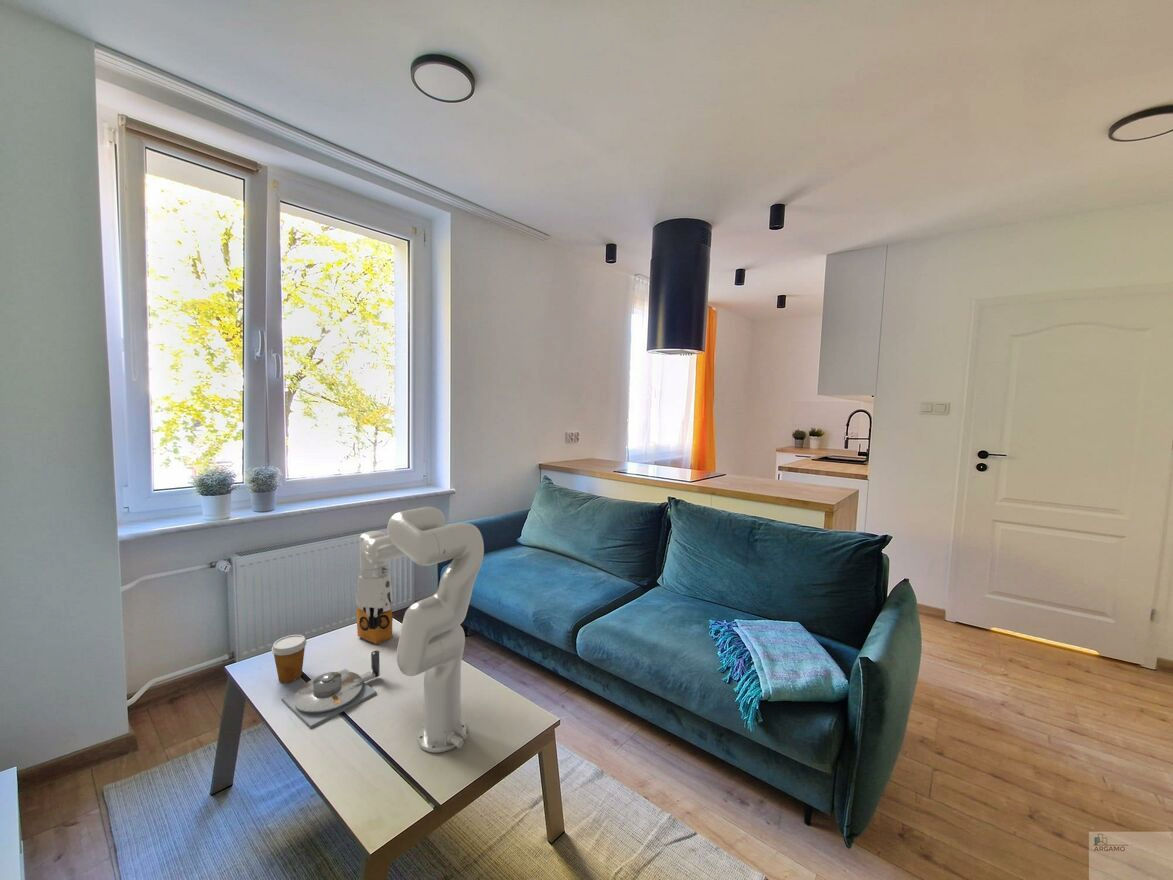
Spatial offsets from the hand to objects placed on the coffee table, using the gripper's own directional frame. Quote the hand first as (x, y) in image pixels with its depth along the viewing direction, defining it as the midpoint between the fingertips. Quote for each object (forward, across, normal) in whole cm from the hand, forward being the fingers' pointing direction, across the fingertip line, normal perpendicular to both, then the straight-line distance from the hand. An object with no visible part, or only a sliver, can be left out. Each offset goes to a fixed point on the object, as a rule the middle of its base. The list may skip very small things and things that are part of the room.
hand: (374, 627), depth 146 cm
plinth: (+18, +9, +9) cm, 23 cm away
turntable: (+17, +8, +7) cm, 20 cm away
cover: (+16, +9, +10) cm, 21 cm away
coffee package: (+18, +16, -25) cm, 35 cm away
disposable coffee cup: (+18, +28, +3) cm, 34 cm away
